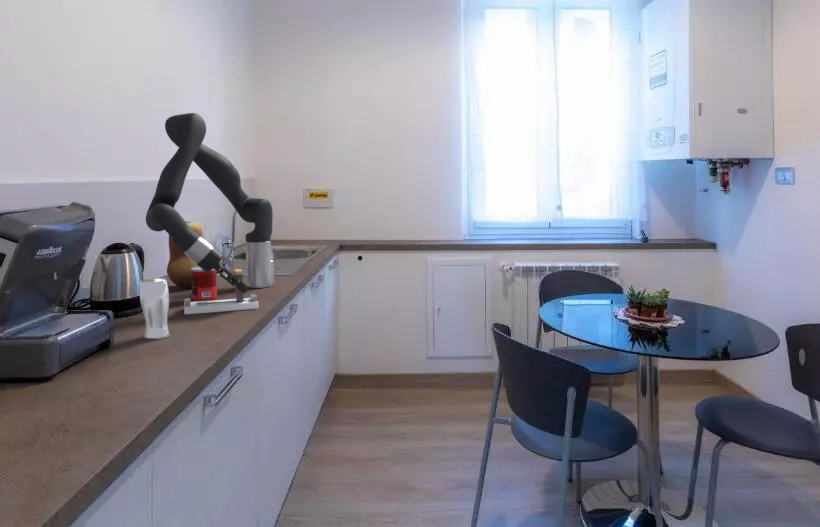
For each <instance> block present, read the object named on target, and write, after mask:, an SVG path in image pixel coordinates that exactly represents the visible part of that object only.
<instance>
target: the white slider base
mask: <svg viewBox="0 0 820 527" xmlns="http://www.w3.org/2000/svg"><path fill="white" fill-rule="evenodd" d="M249 296H250V297H245V298H244V297H243V300H244V301H241V302H237V301H236V298H228V299H216V300H213V301H199V302H195V301H191V298H184V302H183V310H184V315H194V314H206V313H220V312H230V311H243V310H244V311H246V310H259V309H260V308H259V307H260V305H259V301H258V296H257V293H250V294H249Z"/></svg>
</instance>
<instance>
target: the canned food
mask: <svg viewBox="0 0 820 527" xmlns="http://www.w3.org/2000/svg"><path fill="white" fill-rule="evenodd" d="M216 272H217V271H216V270H215V269H212V270H211V271H210V272H208V273H207V272H205V271H204V270H203V269H201V268H200V267H194V268H191V281H192V287H191V294H192V296H191V298H192V300H193V301H192V302H199V301H213V300H217V297H218V291H217V290H218V289H217V288H218V286H217V274H216Z"/></svg>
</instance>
